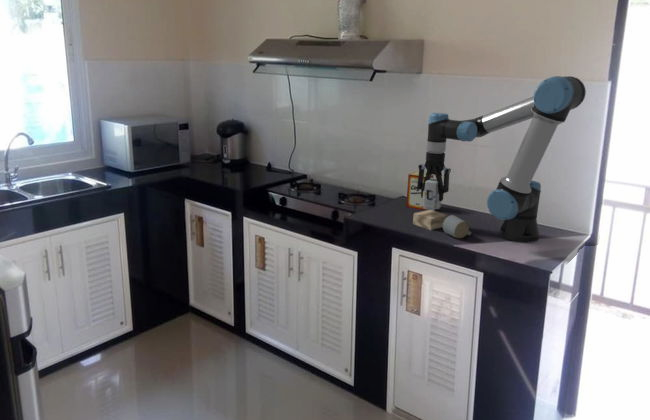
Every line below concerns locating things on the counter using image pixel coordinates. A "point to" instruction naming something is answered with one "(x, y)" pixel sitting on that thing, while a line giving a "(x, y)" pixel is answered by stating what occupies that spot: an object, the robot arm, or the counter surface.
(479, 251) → the counter surface
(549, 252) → the counter surface
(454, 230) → the ceramic mug
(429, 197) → the ink box
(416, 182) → the baking soda box
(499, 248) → the counter surface
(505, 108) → the robot arm
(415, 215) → the maple block
